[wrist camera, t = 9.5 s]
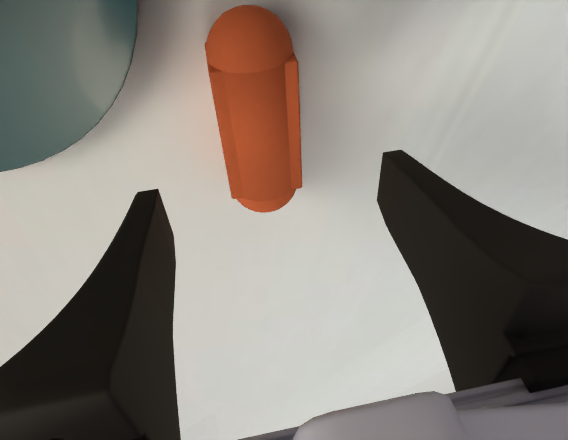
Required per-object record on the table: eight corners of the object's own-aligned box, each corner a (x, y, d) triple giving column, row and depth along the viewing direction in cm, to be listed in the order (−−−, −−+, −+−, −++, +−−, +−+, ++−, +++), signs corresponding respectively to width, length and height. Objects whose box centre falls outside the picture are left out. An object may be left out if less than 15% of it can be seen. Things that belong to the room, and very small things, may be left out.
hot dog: (291, 178, 21) (305, 220, 19) (231, 188, 21) (237, 231, 19) (282, -13, 15) (299, 18, 13) (196, -3, 15) (200, 31, 13)
